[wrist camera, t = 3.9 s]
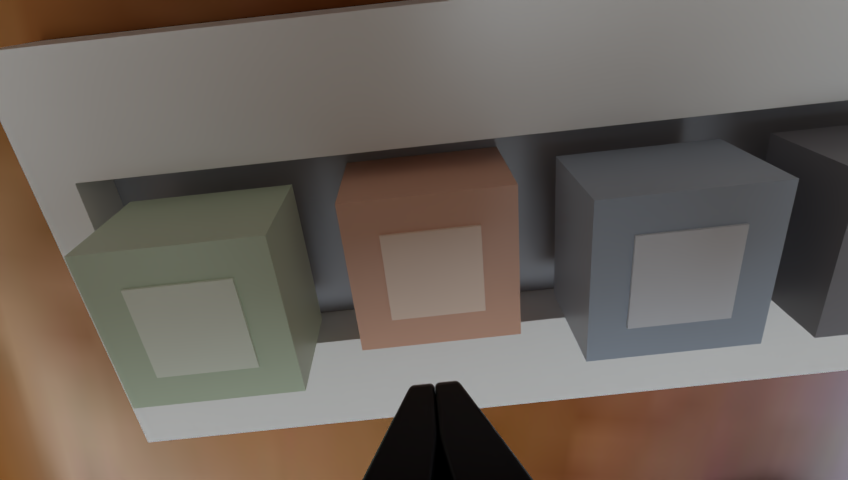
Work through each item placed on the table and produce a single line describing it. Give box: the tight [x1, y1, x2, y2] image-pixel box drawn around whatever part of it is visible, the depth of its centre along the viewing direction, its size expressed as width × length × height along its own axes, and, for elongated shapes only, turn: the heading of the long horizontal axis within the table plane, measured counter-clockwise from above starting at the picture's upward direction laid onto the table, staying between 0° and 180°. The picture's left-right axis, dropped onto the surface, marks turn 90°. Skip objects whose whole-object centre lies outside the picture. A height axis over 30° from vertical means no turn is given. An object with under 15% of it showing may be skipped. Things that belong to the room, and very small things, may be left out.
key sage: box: [64, 184, 322, 409], centre depth 13 cm, size 4×4×3 cm
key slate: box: [554, 139, 799, 362], centre depth 13 cm, size 4×4×3 cm
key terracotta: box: [335, 147, 521, 350], centre depth 14 cm, size 4×4×3 cm
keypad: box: [0, 0, 848, 442], centre depth 15 cm, size 25×12×3 cm, turn 96°
